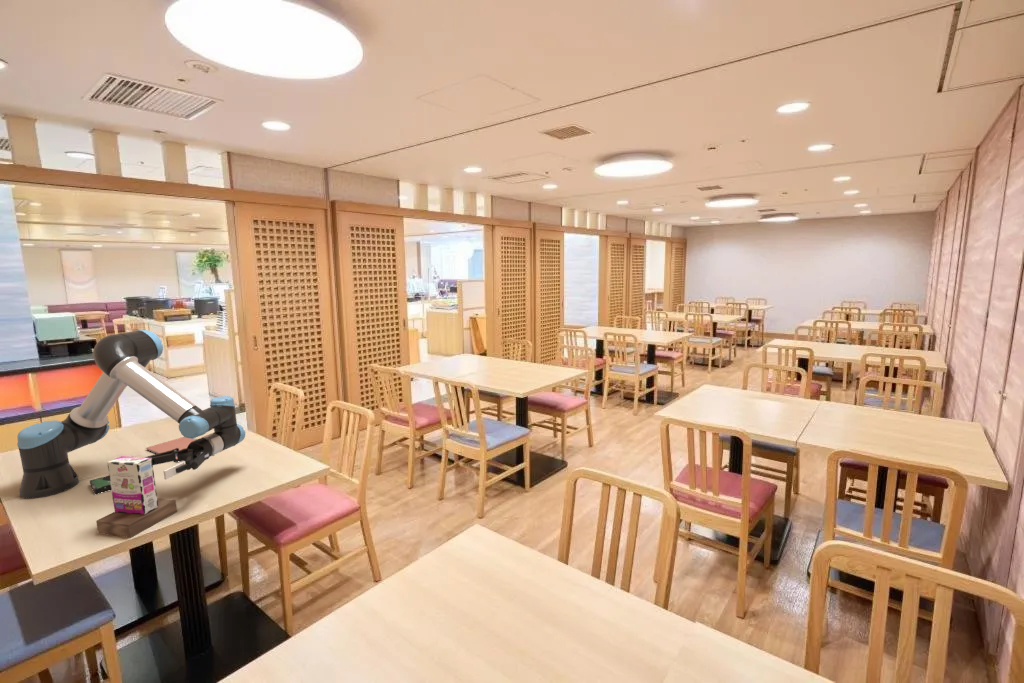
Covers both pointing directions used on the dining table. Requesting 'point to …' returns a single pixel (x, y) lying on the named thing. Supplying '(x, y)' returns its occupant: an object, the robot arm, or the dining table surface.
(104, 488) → the disk drive
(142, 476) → the candy bar box
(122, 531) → the wooden block
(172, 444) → the notebook
